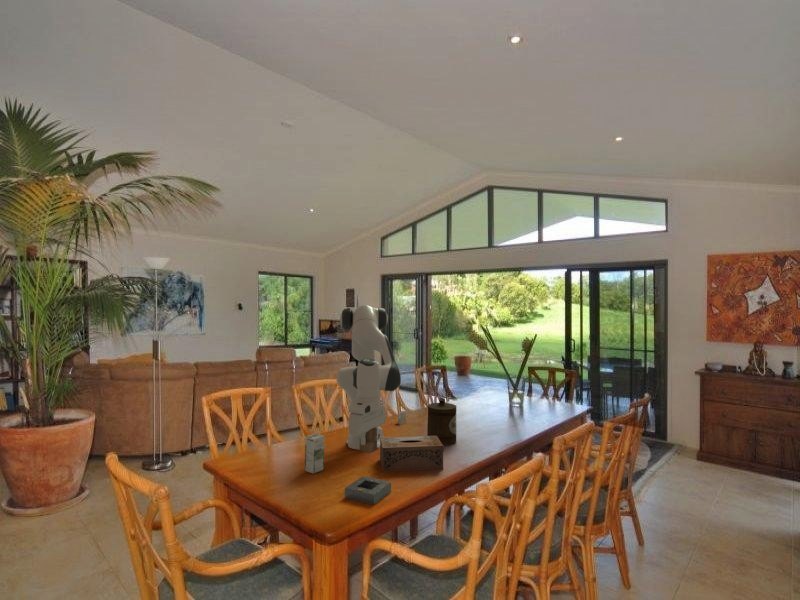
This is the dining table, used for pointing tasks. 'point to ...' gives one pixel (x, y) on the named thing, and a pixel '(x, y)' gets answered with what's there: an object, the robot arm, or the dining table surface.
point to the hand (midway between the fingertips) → (368, 441)
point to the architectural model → (402, 417)
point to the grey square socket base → (368, 490)
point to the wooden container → (442, 422)
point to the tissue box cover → (411, 453)
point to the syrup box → (314, 453)
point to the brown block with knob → (370, 441)
